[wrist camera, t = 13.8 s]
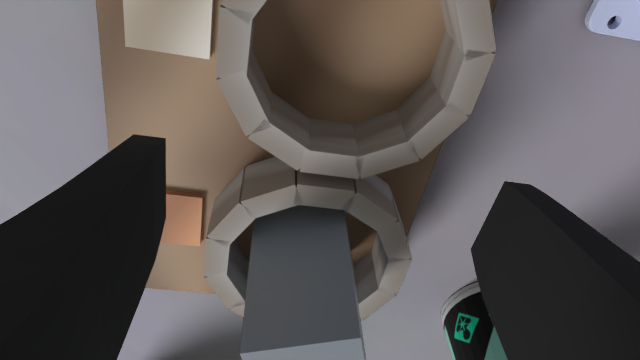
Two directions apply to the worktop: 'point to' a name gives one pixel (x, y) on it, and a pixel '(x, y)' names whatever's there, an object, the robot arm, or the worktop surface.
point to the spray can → (470, 327)
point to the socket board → (299, 69)
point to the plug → (301, 288)
